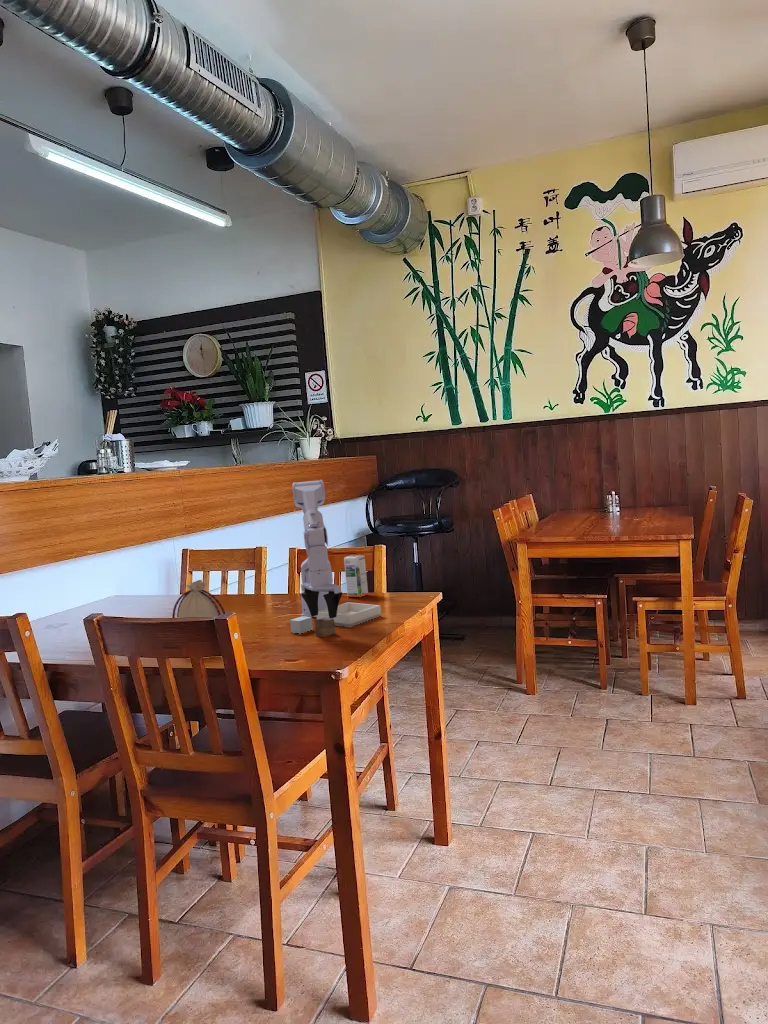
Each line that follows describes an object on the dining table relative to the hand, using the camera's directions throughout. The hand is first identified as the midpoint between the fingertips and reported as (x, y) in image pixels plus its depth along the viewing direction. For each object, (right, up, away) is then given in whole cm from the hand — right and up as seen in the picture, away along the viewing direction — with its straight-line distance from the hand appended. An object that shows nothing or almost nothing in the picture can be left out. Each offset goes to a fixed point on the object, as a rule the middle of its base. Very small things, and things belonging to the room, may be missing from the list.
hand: (323, 616), depth 209 cm
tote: (+7, -3, +16) cm, 18 cm away
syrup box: (+8, 0, +52) cm, 53 cm away
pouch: (-35, -9, 0) cm, 36 cm away
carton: (-7, -6, +7) cm, 11 cm away
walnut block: (0, -5, 0) cm, 5 cm away
